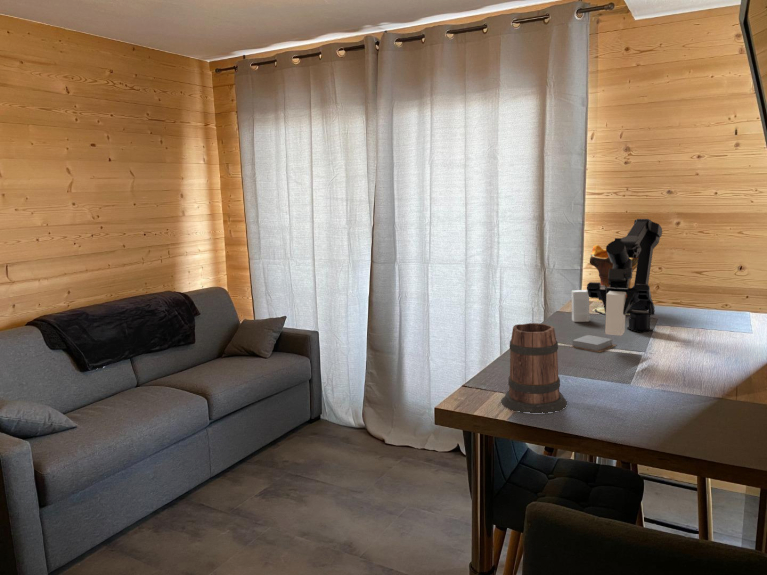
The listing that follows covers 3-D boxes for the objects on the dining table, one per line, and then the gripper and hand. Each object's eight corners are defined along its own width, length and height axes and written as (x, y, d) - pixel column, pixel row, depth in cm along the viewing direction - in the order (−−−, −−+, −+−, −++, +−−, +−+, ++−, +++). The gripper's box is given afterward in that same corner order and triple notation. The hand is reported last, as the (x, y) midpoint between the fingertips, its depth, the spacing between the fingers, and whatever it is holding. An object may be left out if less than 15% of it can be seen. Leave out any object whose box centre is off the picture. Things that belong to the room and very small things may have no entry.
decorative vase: (609, 318, 238) (608, 247, 235) (579, 310, 261) (577, 244, 257) (656, 313, 242) (656, 243, 239) (622, 305, 265) (622, 241, 261)
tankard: (561, 418, 146) (561, 337, 143) (493, 409, 154) (491, 333, 150) (577, 386, 167) (577, 315, 163) (516, 380, 174) (515, 312, 171)
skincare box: (586, 319, 241) (587, 289, 239) (589, 321, 237) (589, 291, 235) (571, 319, 241) (571, 290, 239) (573, 322, 237) (573, 292, 235)
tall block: (608, 330, 197) (609, 290, 195) (624, 331, 195) (626, 292, 192) (605, 334, 193) (606, 294, 191) (621, 335, 191) (623, 295, 188)
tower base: (586, 345, 208) (586, 339, 208) (617, 350, 200) (617, 344, 200) (568, 352, 201) (568, 346, 201) (599, 358, 193) (599, 352, 192)
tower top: (587, 340, 206) (587, 334, 206) (612, 345, 199) (612, 339, 199) (572, 346, 201) (572, 340, 200) (597, 350, 194) (597, 344, 193)
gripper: (588, 257, 198) (580, 298, 190) (650, 258, 188) (644, 301, 181) (592, 277, 206) (585, 316, 198) (652, 279, 196) (647, 320, 189)
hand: (614, 313), depth 191 cm, fingers closed on tall block, 5 cm apart
